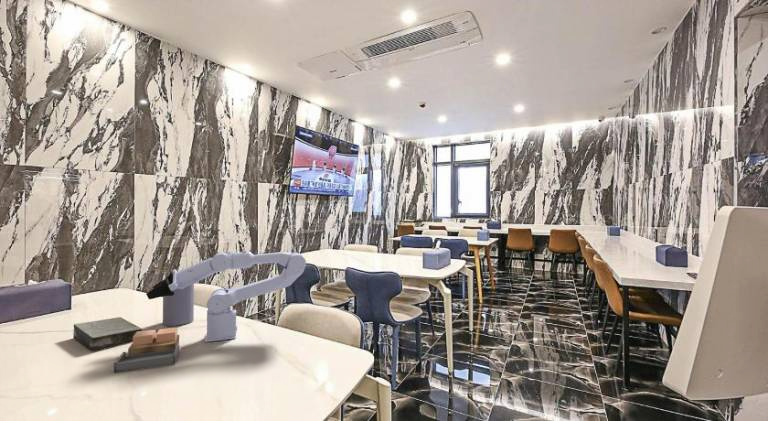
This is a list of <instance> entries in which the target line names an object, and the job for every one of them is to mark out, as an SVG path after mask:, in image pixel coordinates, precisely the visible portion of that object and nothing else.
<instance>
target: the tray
mask: <svg viewBox="0 0 768 421" xmlns="http://www.w3.org/2000/svg"><path fill="white" fill-rule="evenodd" d="M126 353H127V351H123V352H122V353H121V354H120V355H119V357H118V358H116V360H115V362H114V363H113V373H114V374H116V373H122V372H130V371H131V372H132V371H139V370H143V369H150V368H152V369H153V368H159V367H165V366H174V365H176V362H177V360H178V357H179V355H180V344H179V345H177V347H176V349H175V350H167V351H159V352H151V353H143V354H135V355H128V354H127V355H126Z"/></svg>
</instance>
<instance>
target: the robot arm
mask: <svg viewBox="0 0 768 421" xmlns="http://www.w3.org/2000/svg"><path fill="white" fill-rule="evenodd" d="M255 264H256V265H257V264H261V265H262V264H279V265H281V266H283V269H282V272H281V273H280V274H278V275H275V276H272V277H268V278H265V279H262V280H258V281H255V282H251V283H249V284H246V285H245V284H244V285H242V286H237V287H230V288H226V289H224V288H218V289H215V290H214V291H213V292H212V293H211V295H210V297H209V299H208V300H207V303H206V308H207V310H206V333H205V337H204V342H205V343H208V342H209V343H210V342H216V341H217V342H218V341H225V340H232V339H236V338H237V331H238V325H237V309H231V307H233V306H235V305H236V304H238V303H240V302H242V301H243V302H244V301H246V300H250V299H253V298H256V297H259V296H262V295H265V294H269V293H271V292H276V291H279V290H281V289H285V288H287V287H290V286H292V285H293V283H294V282H295V281H296V280H297V279H298V278H299V277H300V276H301V275H302V274H303V273H304V271H305V268H306V266H307V261H306V258H305V257H303V255H302V254H301V253H299V252H296V251H295V252H294V251H293V252H290V251H279V252H270V253H269V252H268V253H260V254H253V253H252V251H247V249H242V251H240V252H238V251H237V252H232V251H227V253H225V252H217V253H216V254H215V255H214V256H213V257H209V258H207V259H206V260H205V259H204V260H201V261H199V262H197V263H195V264H192V265H190V266H188V267H186V268H183V269H181V270H178V271H177V269H172V271H171V273H170V274H169V275H168V276H166V277H165V278H164V279H162V280H161V281H160V282H158V283H156V284H155V285H153V286H152V289H151V290H149V291H148V292H147V293H146V294H145V295H146V297H147V299H148V300H153V299H154V300H155V299H158V298H161V297H162V298H163V296H173V295H174V292H173V290H175V289H184V288H185V287H187V286H189V285H191V284H193V283H194V284H195V283H198V282H199V281H200V282H201V281H202V280H204V279H206V278H208V277H211V276H212V275H214V274H216V273H218V272H222V273H223V272H225V271H227V270H228V269H230V270H238V269H239V270H240V269H250V268H252V267H253V265H255Z"/></svg>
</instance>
